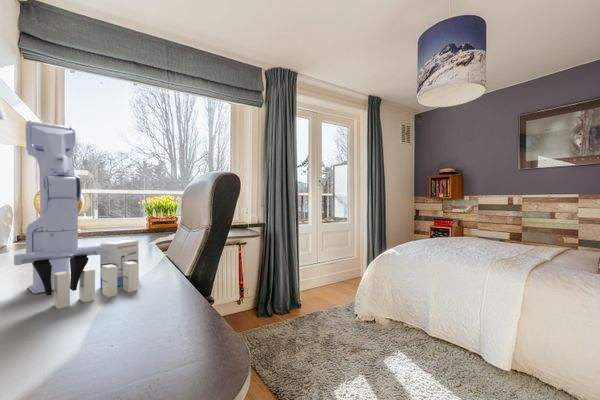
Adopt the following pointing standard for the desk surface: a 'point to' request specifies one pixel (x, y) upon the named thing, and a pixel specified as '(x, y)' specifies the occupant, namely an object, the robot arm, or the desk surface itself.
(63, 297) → the domino
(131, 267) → the domino
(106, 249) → the ink box
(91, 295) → the domino
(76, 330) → the desk surface
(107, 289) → the domino
